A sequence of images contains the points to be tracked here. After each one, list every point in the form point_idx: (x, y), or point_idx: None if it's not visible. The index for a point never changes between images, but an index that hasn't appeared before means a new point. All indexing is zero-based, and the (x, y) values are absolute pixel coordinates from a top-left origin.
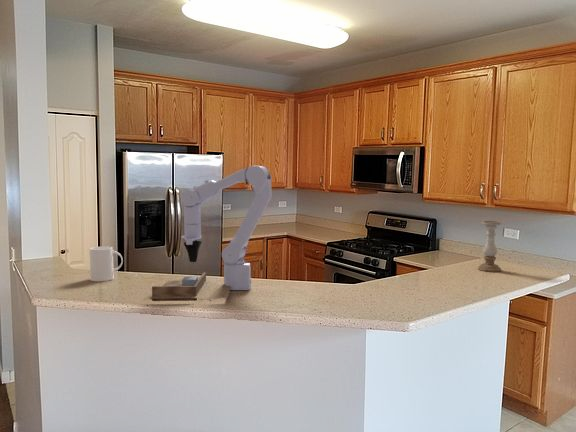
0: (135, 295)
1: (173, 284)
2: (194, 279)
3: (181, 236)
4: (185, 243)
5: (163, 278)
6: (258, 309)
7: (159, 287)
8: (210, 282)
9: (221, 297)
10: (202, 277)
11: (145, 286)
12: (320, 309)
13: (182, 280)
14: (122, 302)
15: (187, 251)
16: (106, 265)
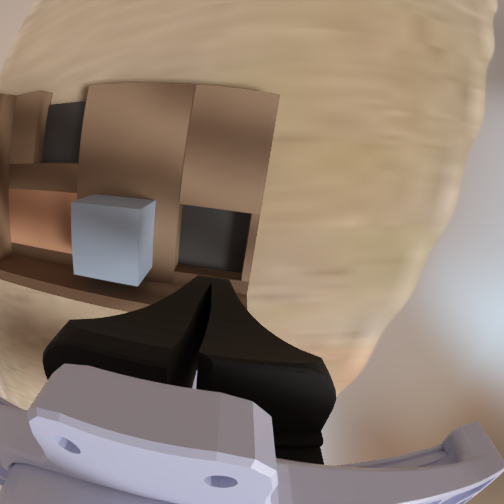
0: (104, 7)
1: (180, 134)
2: (75, 269)
3: (31, 418)
4: (43, 356)
5: (415, 87)
6: (6, 381)
7: None
8: (284, 312)
9: (56, 334)
10: (119, 309)
11: (260, 3)
12: None
13: (72, 203)
14: (37, 11)
15: (146, 307)
16: None
